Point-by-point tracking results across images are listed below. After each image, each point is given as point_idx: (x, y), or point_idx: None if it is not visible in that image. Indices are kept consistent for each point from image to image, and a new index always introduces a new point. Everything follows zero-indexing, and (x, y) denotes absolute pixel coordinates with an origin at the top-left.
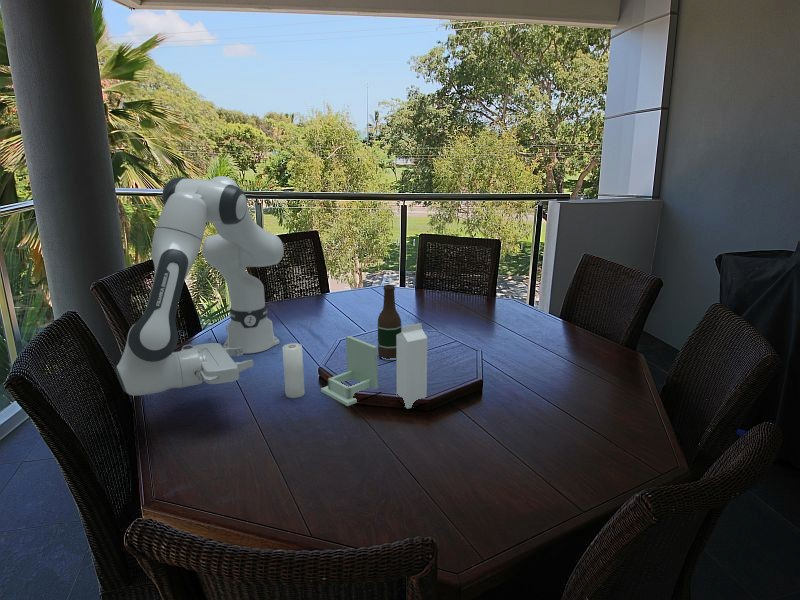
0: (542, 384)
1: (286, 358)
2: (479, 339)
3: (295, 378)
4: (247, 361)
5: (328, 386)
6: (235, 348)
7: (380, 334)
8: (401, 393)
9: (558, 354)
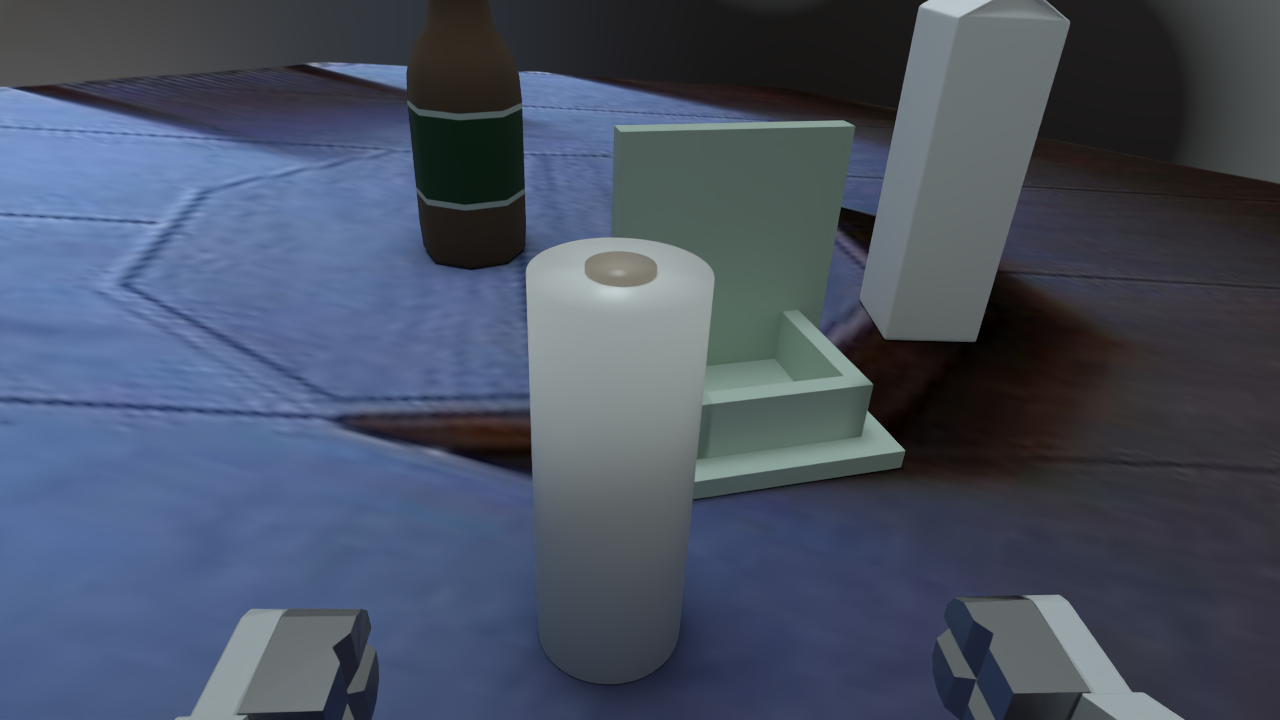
0: (881, 164)
1: (669, 390)
2: (538, 136)
3: (690, 512)
4: (1112, 668)
5: None
6: (212, 704)
7: (469, 149)
8: (938, 296)
9: (728, 117)
